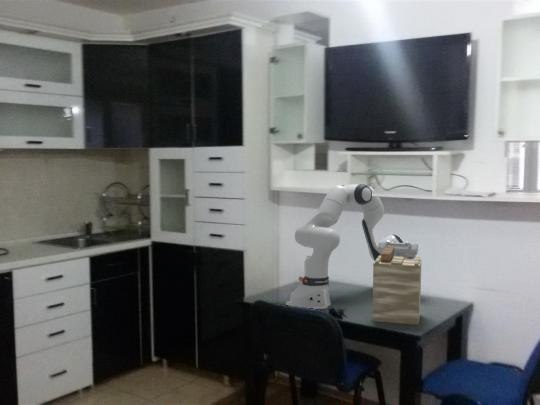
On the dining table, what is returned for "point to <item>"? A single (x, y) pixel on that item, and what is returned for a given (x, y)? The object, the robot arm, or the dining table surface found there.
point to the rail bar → (387, 254)
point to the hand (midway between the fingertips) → (397, 242)
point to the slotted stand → (397, 290)
